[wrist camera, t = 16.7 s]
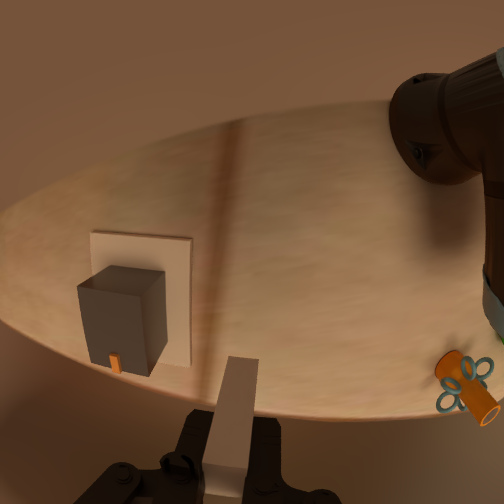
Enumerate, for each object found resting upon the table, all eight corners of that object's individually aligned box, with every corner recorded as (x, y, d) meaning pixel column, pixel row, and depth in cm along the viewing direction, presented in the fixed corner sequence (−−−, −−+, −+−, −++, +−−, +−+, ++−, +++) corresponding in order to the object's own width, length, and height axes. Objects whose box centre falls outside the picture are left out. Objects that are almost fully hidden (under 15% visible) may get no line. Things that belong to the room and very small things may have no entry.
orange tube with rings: (410, 387, 39) (446, 447, 24) (439, 336, 36) (489, 390, 21) (453, 387, 39) (489, 435, 24) (480, 341, 36) (526, 385, 22)
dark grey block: (110, 264, 33) (73, 288, 25) (165, 271, 33) (137, 299, 25) (117, 332, 36) (88, 365, 27) (168, 341, 36) (147, 380, 27)
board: (94, 231, 34) (63, 242, 27) (192, 239, 33) (175, 254, 26) (106, 346, 38) (85, 372, 31) (192, 363, 38) (180, 395, 31)
